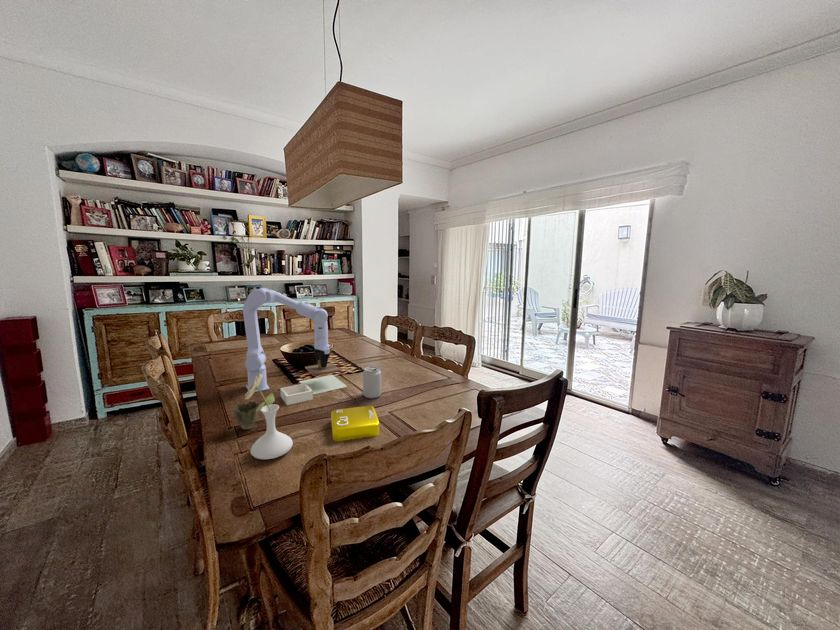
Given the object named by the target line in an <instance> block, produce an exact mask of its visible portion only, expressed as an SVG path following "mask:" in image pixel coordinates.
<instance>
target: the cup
mask: <svg viewBox="0 0 840 630" xmlns="http://www.w3.org/2000/svg"><path fill="white" fill-rule="evenodd" d="M259 405H260V404H259V402H257V401H251V400H250V401H249V402H248V403H246V402H242V403H237V405H234V407H232V409H233V414H234V418H235V421H236V424H237V425H239V426H240V427H241V429H242V431H249V430H251V429H253V428H254V427H255V423H256V421H257V420H258V417H259V411H257V412H256V410H257V408H258V407H259Z"/></svg>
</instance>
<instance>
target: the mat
mask: <svg viewBox="0 0 840 630" xmlns="http://www.w3.org/2000/svg"><path fill="white" fill-rule="evenodd" d="M303 383H305V384H306V385H307V386H308V387H309V388H310V389H311V390H312V391H313V395H317V394H320V393H321V394H322V393H325V392H329V391H335V390H339V389H343V388H347V387H348V386H347V385H346V384H345V383H344V382H343V381H341V380H340V379H339V378H337V377H336V376H335V375H334V374H330V375H326V376H320V377H315V378H311V379H305V380H299V384H303Z"/></svg>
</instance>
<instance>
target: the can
mask: <svg viewBox="0 0 840 630" xmlns="http://www.w3.org/2000/svg"><path fill="white" fill-rule="evenodd" d="M362 394H363V395H362V396H364V397H365V398H367V399H377V398H379V397H380V396H381V394H382V371H381V370H380V367H378V366H367V367H364V369H363V371H362Z"/></svg>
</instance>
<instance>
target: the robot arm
mask: <svg viewBox="0 0 840 630" xmlns="http://www.w3.org/2000/svg"><path fill="white" fill-rule="evenodd" d="M267 303H268V304H269V303H279V304H282V305H283V306H286V307H289V308H292V309H294V310H295V312H296V313H297V315H298V314H299V315H301V316H303V317H305V318H308V319H310V320H313V322H314V327H313V328H314V330H313V331H314V345H313V347H314V349H312V351H313V353H314V355H315V357H316V362H317V363H318V360H320V364H321V367H322V368H323V367H326V366H327V363H329V362H328V361H329V358H330V355H331V353H332V352H331V350H330V348H331V347H332V345H331V344H329V328H328V327H329V326H328V317H329V316H328V315H329V314H328V311H327V310H325V309H324V308H323V307H321V308H320V307H319V306H315V305H313V304H310V302H309V301H307V300H306V301H303V300H302V301H300V302H298V301H296V300H295V299H293V298H291V297H288V296H287V295H284V294H283V293H280V292H278V291H276V290H274V289H269V288H268V287H260V288H257V289H254V290H252V291H251V292H250V293H249V294H248V296H247V298H246V300H245V302H244V304H243V306H242V313H243V314H242V315H243V322H244V330H245V336H246V337H245V338H246V346H247V350H246V356H245V357H246V360H245V362H244V366H245V369H246V370H247V371H246V373H247V384H246V385H245V388H246V389H247V392H248V391H249V390H250V389H249V386H250V385H253V384H254V381H255V378H256V377H258V376H259V374H261V375H263V377H262V380H261V382H260V384H259V389H260V390H261V392H263V391H267V390H268V391H269V390H270V387H269V385H268V381H267V380H268V378H267V367H266V365H265V363H266V362H267V355H266V353H265V352H264V348H263V347H262V344H261V343H262V342H261V336H260V335H261V334H260V327H259V326H260V325H259V319H258V309H260V308H261V306H263V305H264V304H267ZM258 392H260V391H259V390H258V389H257V390H256V391H255V392H254V393H258Z"/></svg>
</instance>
